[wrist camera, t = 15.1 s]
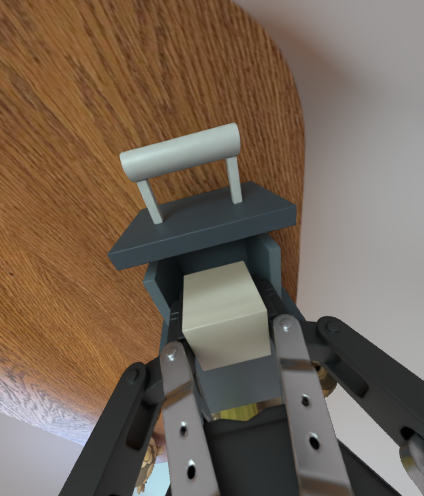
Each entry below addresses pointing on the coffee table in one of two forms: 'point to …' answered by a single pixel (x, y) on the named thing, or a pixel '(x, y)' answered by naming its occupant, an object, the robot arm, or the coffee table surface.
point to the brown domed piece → (148, 464)
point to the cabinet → (241, 374)
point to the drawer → (199, 218)
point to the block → (224, 316)
